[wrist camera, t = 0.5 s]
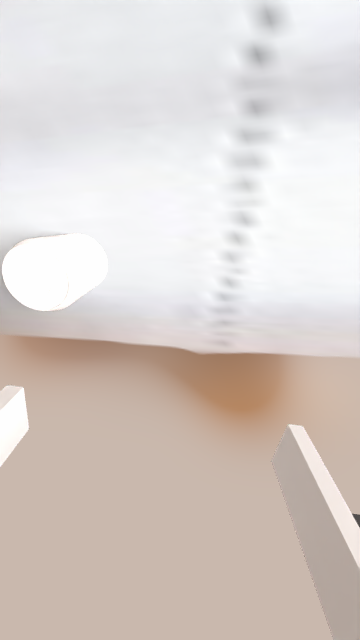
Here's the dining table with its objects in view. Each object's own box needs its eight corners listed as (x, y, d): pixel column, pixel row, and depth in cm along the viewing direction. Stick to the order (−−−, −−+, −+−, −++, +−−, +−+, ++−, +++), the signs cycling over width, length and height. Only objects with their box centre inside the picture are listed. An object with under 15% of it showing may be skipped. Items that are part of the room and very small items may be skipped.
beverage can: (46, 264, 36) (-16, 283, 25) (72, 220, 34) (16, 220, 23) (91, 297, 38) (52, 328, 27) (119, 258, 35) (89, 275, 24)
